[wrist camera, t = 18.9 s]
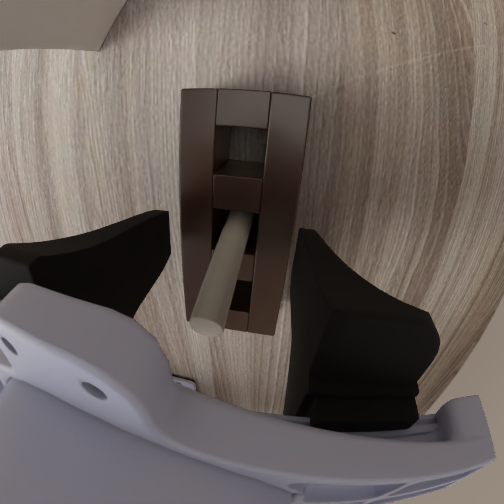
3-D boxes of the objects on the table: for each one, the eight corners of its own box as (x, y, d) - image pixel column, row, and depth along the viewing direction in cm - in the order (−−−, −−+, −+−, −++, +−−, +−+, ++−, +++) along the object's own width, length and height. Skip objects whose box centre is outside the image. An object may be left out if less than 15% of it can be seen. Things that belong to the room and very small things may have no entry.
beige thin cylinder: (257, 193, 14) (222, 321, 9) (256, 212, 15) (223, 339, 10) (234, 191, 14) (186, 314, 9) (234, 209, 15) (191, 333, 10)
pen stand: (307, 98, 12) (312, 96, 9) (277, 302, 18) (274, 336, 15) (203, 90, 12) (180, 88, 9) (200, 289, 18) (186, 321, 15)
